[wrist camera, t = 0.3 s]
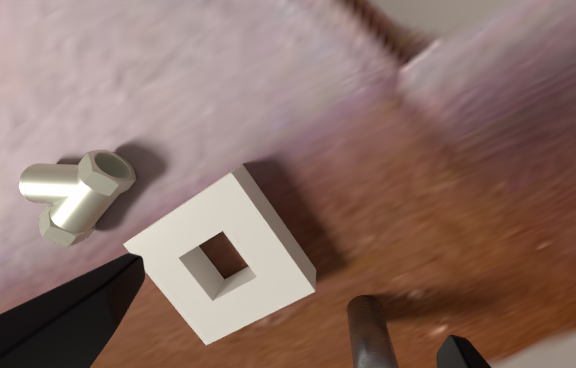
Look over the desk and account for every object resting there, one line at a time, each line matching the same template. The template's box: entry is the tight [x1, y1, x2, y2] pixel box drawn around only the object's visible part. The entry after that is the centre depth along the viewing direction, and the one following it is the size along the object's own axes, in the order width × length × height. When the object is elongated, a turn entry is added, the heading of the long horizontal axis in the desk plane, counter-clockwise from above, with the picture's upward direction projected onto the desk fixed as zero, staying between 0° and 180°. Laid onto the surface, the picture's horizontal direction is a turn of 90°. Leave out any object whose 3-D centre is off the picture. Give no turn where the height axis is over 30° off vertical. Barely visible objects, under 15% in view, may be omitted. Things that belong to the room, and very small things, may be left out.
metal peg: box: [347, 296, 399, 368], centre depth 21 cm, size 3×3×10 cm
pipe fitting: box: [19, 150, 136, 247], centre depth 24 cm, size 8×4×7 cm
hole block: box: [123, 164, 316, 345], centre depth 24 cm, size 11×11×3 cm
